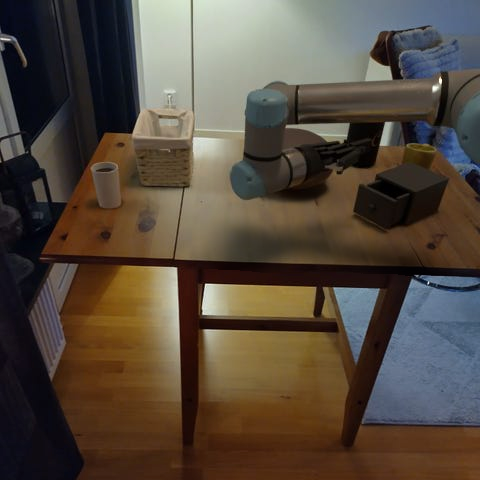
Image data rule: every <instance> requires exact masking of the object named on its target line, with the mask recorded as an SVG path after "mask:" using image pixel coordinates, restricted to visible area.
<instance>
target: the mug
mask: <svg viewBox="0 0 480 480" xmlns="http://www.w3.org/2000/svg"><path fill="white" fill-rule="evenodd" d="M436 155H437V148H436V147H434V146H433V145H430V144H428V143H423V144H422V143H415V142H413V143H412V142H411V143H406V145H405V147H404V150H403V155H402V161H401V165H403V164H406V163H409V162H411V163H413V164H416V165H418V166H420V167H423V168H425V169H428V170H430V171H431V168H432V165H433V162H434V160H435V159H436Z"/></svg>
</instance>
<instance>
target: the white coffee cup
mask: <svg viewBox="0 0 480 480" xmlns="http://www.w3.org/2000/svg"><path fill="white" fill-rule="evenodd" d="M90 170H91V174H92V179H93V184H94V189H95V192H96V193H95V194H96V196H97V202H98V205H99V207H100V208H103V209H107V210H108V209H111V210H112V209H116V208H118V207H120V206H121V205H122V197H121V186H120V184H121V183H120V174H119V173H120V172H119V165H117V164H116V163H114V162H111V161H102V162H97V163H94V164H92V165H91V166H90Z"/></svg>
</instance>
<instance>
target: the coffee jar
mask: <svg viewBox="0 0 480 480" xmlns="http://www.w3.org/2000/svg"><path fill="white" fill-rule="evenodd" d="M348 124H349V125H348V130H347V135H346V140H348V144H349V143H352V142H355V141H359V140H362V139H366V138H369V139H372V140H373V141H372V145H371V149H370V152H366V153H364V154H361V155H360V156H359V160H358V162H357V163H355V164H354V165H352V166H351V167H353V168H362V169H363V168H364V169H365V168H366V169H367V168H370V167H373V165H375V163H376V162H377V160H378V159H377V158H378V155H379V150H380V146H381V143H382V142H381V141H382V137H383V133H384V129H385V125H386V122H371V123H348Z"/></svg>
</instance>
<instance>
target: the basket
mask: <svg viewBox="0 0 480 480" xmlns="http://www.w3.org/2000/svg"><path fill="white" fill-rule="evenodd" d="M160 119H162V120H177V121H178V125H161V124H160ZM194 127H195V113H194V111H193V110H191V109H177V108H142V109H141V111H140V113H139V114H138V117H137V119H136V122H135V125H134V128H133V131H132V134H131V139H132V149H133V151H134V155H135V160H136V164H137V170H138V173H139V176H140V177H139V179H140V184H141V185H143V186H145V187H149V186H151V187H152V186H153V187H159V186H160V187H180V188H181V187H189V186H190V185H191V181H192V177H193V173H194V171H193V170H194Z"/></svg>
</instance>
